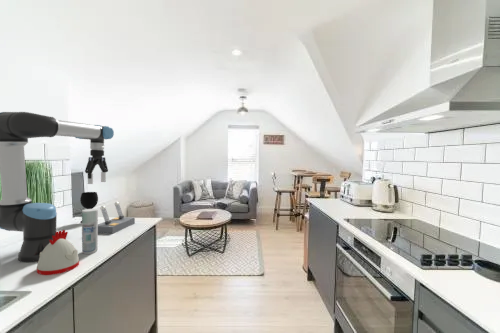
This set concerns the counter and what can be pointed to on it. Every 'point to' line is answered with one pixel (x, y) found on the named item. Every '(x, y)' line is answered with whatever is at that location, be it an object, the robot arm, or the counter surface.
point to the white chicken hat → (58, 256)
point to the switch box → (115, 225)
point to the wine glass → (89, 200)
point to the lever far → (119, 210)
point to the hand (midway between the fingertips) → (97, 182)
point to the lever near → (105, 215)
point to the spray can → (89, 231)
